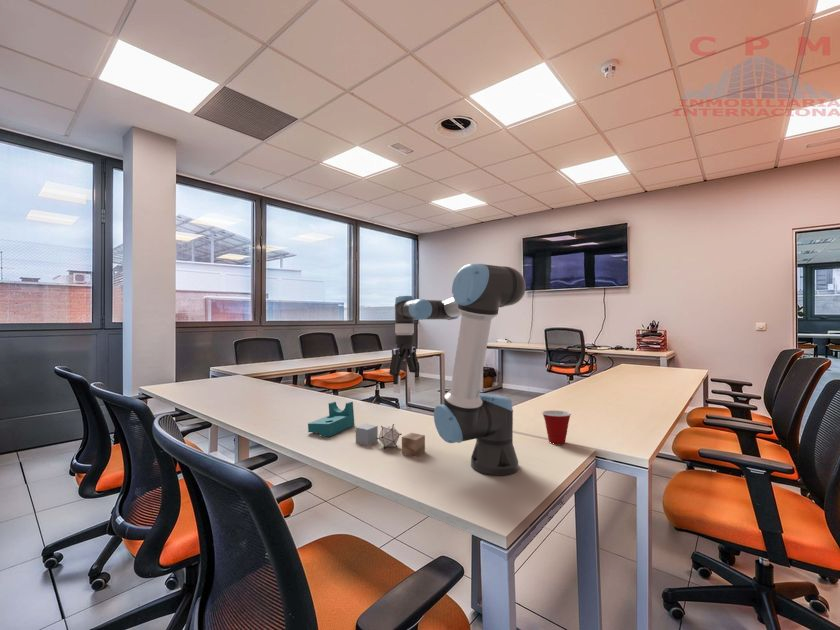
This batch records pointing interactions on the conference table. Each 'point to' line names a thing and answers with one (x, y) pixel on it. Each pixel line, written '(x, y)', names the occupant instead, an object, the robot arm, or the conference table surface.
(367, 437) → the slate-grey block
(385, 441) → the grey spiky polyhedron
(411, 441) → the walnut block
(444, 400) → the robot arm
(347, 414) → the teal l-shaped bracket
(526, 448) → the conference table surface
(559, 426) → the plastic cup
